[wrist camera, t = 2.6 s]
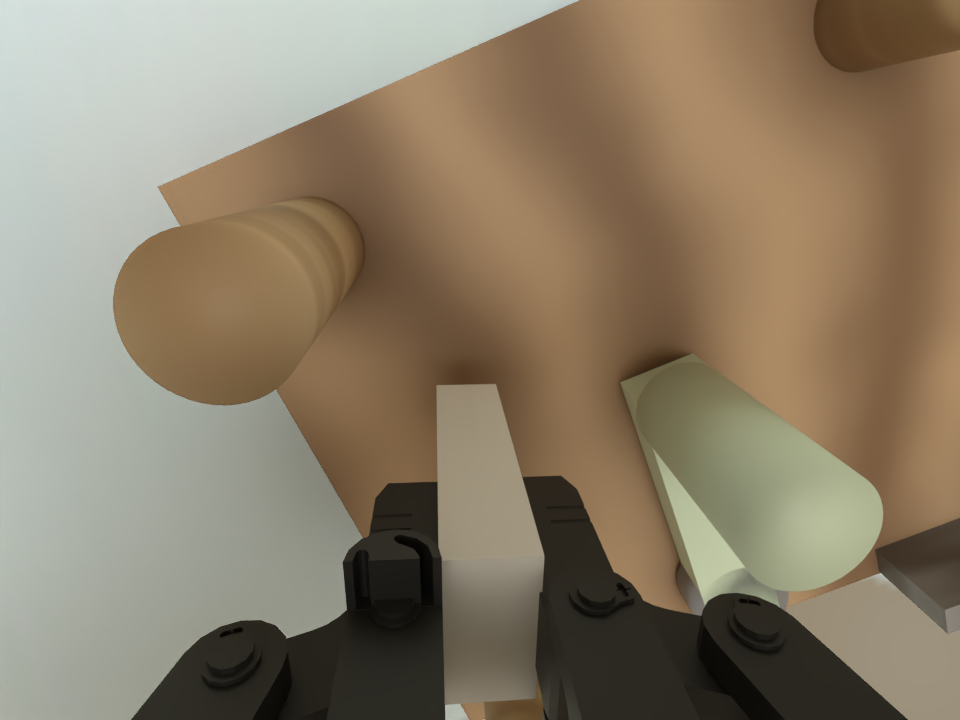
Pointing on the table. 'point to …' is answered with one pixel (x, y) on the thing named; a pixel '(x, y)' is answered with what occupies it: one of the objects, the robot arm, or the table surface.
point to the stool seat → (602, 262)
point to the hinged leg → (746, 489)
